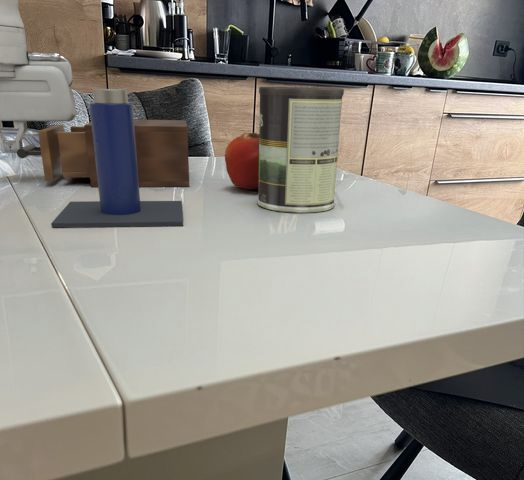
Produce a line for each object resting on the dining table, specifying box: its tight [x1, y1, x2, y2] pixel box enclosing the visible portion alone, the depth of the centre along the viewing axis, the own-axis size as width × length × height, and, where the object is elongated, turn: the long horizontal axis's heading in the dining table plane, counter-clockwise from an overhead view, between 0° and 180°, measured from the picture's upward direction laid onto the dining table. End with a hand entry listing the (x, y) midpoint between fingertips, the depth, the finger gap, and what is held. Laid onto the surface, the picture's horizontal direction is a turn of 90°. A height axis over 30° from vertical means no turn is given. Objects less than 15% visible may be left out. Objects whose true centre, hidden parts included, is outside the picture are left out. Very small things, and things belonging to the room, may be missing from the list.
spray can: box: [88, 88, 141, 215], centre depth 62 cm, size 5×5×13 cm
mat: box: [50, 200, 184, 229], centre depth 65 cm, size 14×12×1 cm
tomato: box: [224, 132, 259, 191], centre depth 81 cm, size 9×9×8 cm
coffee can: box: [257, 86, 345, 214], centre depth 69 cm, size 10×10×14 cm
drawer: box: [16, 124, 90, 181], centre depth 86 cm, size 18×13×7 cm
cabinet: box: [83, 119, 190, 188], centre depth 87 cm, size 15×15×9 cm
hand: (12, 152), depth 85 cm, fingers closed
